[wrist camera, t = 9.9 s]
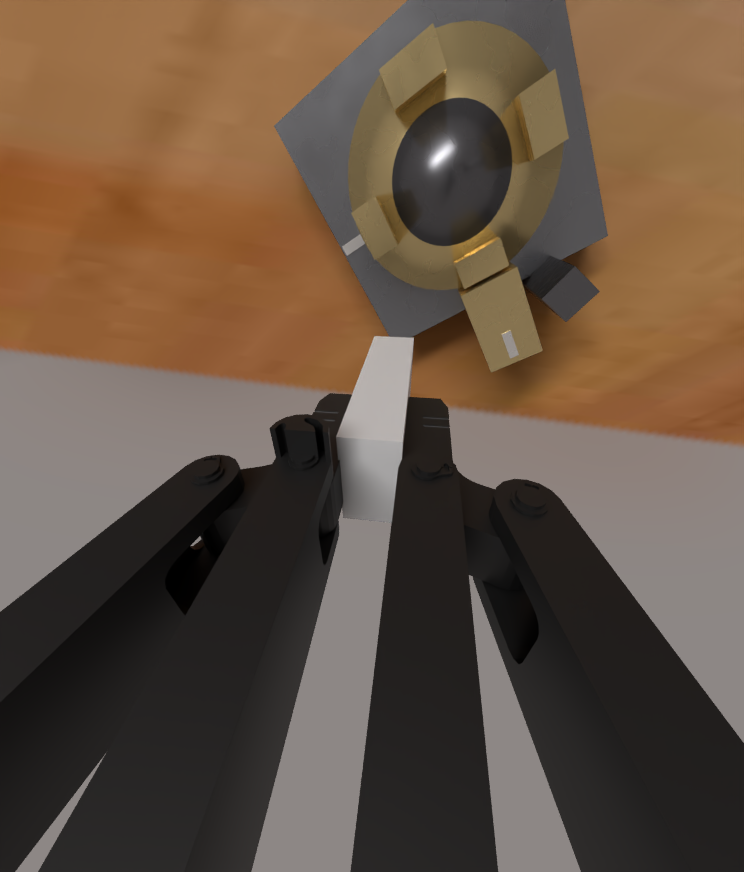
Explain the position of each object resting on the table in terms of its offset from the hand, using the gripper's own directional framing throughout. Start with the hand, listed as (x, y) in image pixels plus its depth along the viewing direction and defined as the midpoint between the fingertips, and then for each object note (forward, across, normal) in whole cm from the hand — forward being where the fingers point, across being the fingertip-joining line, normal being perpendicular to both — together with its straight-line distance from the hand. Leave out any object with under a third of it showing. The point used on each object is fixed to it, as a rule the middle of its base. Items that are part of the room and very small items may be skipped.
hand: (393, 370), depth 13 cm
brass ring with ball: (+11, +3, +4) cm, 12 cm away
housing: (+15, +2, +5) cm, 16 cm away
